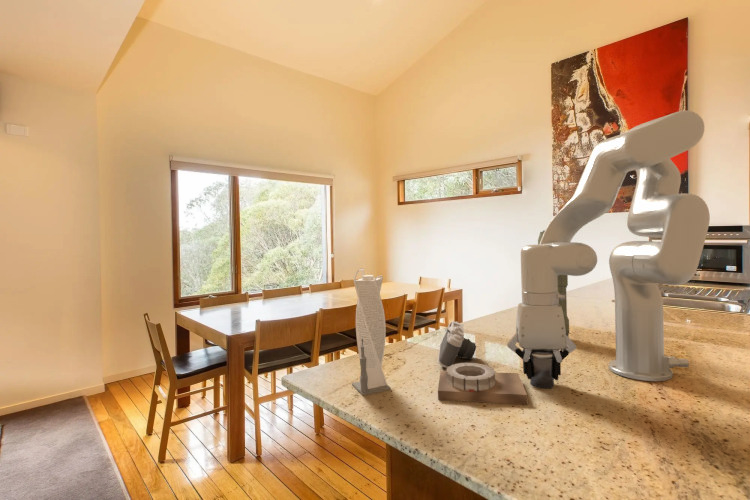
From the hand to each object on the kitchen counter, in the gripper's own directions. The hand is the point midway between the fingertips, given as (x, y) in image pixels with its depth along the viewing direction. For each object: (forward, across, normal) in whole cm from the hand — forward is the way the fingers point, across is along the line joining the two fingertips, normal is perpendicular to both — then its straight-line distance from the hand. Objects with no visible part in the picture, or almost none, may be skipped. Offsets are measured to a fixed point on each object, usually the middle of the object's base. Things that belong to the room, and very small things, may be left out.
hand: (541, 376), depth 86 cm
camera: (+2, +19, -15) cm, 24 cm away
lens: (+2, 0, 0) cm, 2 cm away
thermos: (+2, -11, -37) cm, 39 cm away
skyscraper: (+2, +39, +5) cm, 39 cm away
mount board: (+2, +14, +5) cm, 15 cm away
